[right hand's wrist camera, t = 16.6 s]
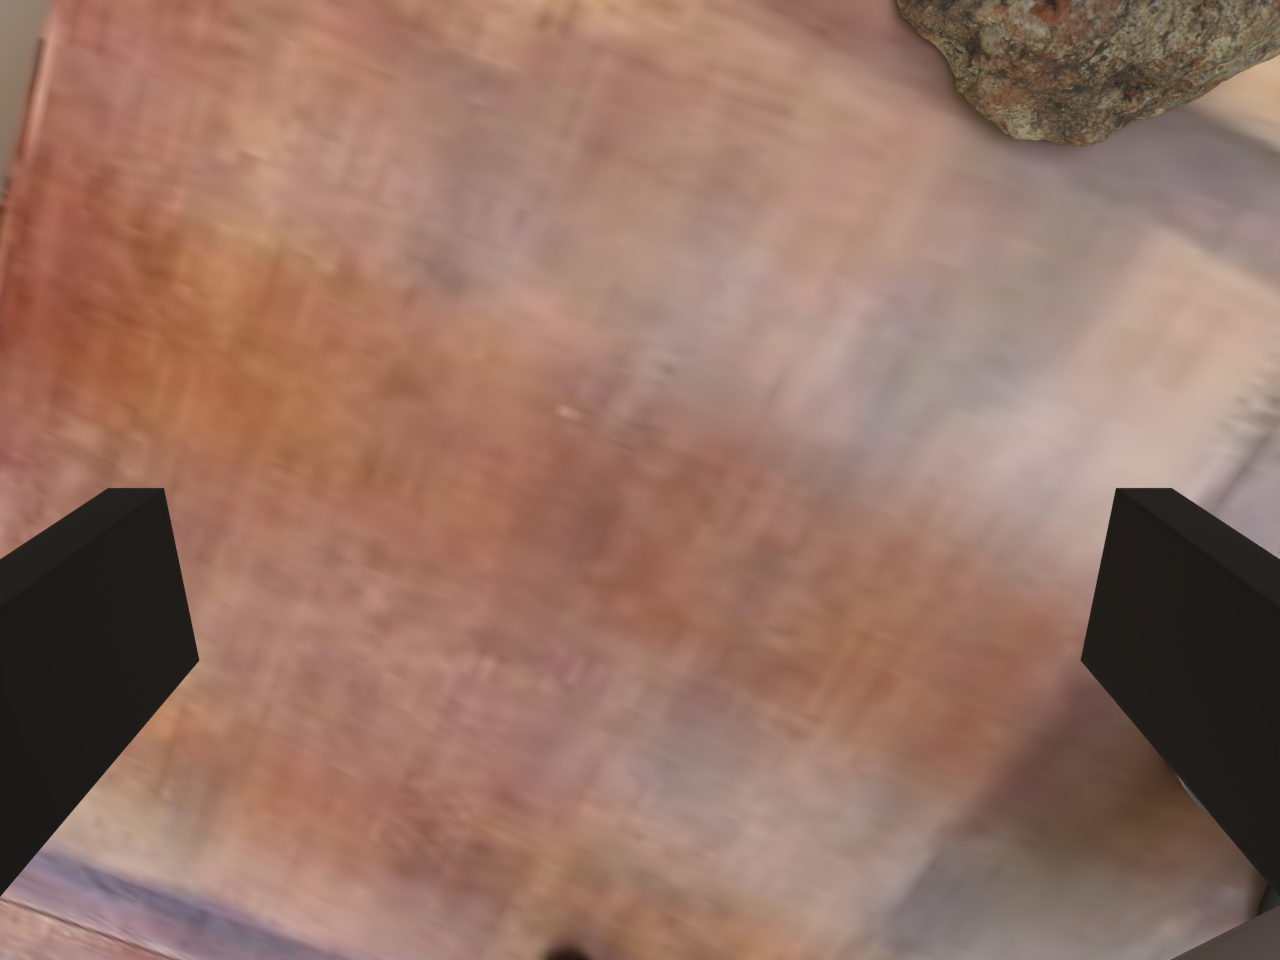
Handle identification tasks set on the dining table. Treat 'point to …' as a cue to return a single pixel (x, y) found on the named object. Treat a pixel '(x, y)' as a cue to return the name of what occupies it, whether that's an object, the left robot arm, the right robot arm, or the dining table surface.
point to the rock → (1092, 57)
